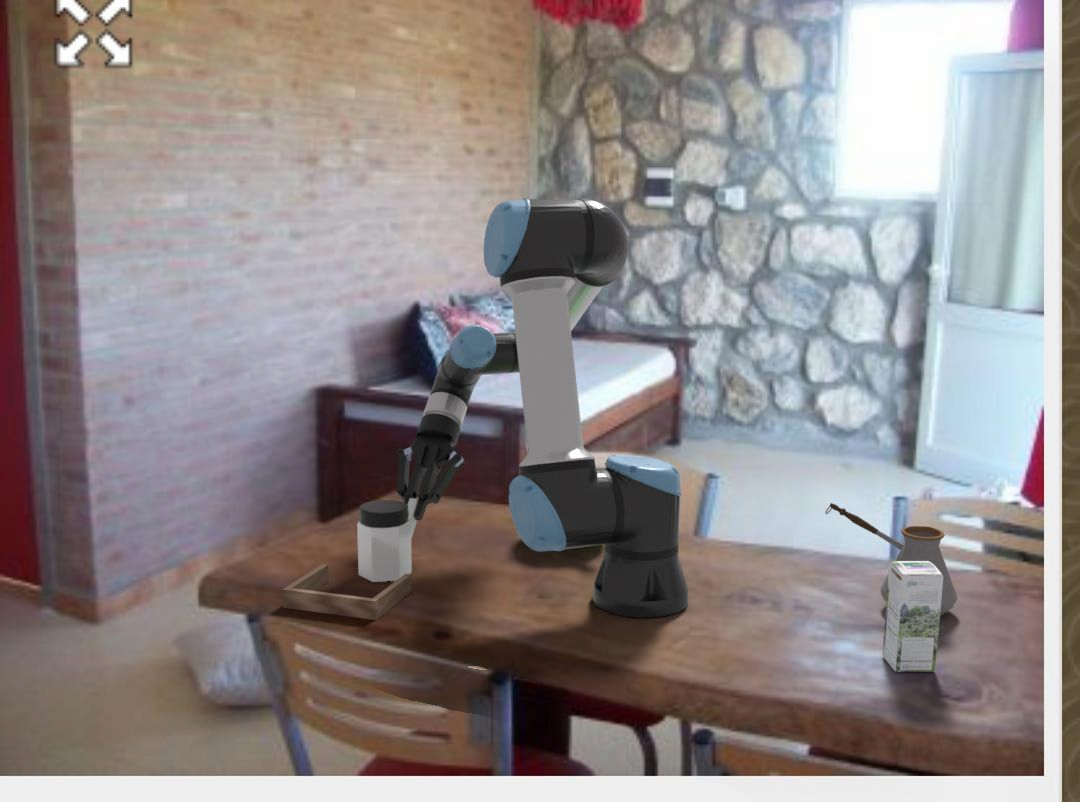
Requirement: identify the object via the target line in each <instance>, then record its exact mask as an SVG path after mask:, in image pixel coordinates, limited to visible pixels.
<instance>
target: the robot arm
mask: <svg viewBox="0 0 1080 802" xmlns="http://www.w3.org/2000/svg"><path fill="white" fill-rule="evenodd" d="M628 253H629V239H628V235H627V231H626V229H625V226H624V224H623V222H622V221H621V219H620V218H619V216H618V215H617V214H616V213H615V212H614V211H613V210H612V209H611V208H609V207H608V206H606V205H605V204H603V203H602V202H601V203H600V202H599V201H595V200H592V199H588V198H587V199H586V198H582V199H581V198H577V199H554V198H553V199H548V198H547V199H545V198H544V199H543V198H540V199H539V198H522V199H517V200H516V199H515V200H504V201H501V202H500V203H499V204H497V205H496V206H495V207H494V208H493V210H492V212H491V213H490V216H489V218H488V221H487V225H486V228H485V232H484V239H483V262H484V266H485V267H486V272H487V274H489V276H492V277H494V278H499V283H500V284H499V285H500V290H501V292H502V293H503V294H505V295H506V296H507V297H509V299H510V300H511V303H512V313H513V323H514V325H513V326H514V332H499V333H498V332H497V333H494V332H492V331H491V330H490V329H489V328H488V327H485V326H482V325H479V324H469V325H466V326H464V327H463V328H462V329H461V330H460V331H459V332H458V334H457V335H456V336H455V337H454V338H453V340H452V341H451V344H450V347H449V348H448V349H447V350H445V352H444V353H443V356H442V358H440V362H439V363H438V367H437V368H438V370H437V372H436V376H435V378H434V382H433V385H432V388H431V391H430V394H429V396H428V399H427V401H426V405H425V408H424V411H423V413H422V418H421V419H420V423H419V425H418V427H417V432H416V436H415V437H416V438H415V439H414V441H412V443H411V444H410V446H409V447H407V448H405V449H403V448H402V447H401V448H399V447H398V449H397V450H396V453H397V456H398V459H399V460H398V469H397V470H398V471H397V473H398V474H397V484H396V485H397V487H396V493H397V495H398V496H399V498H400V500H402V501H403V502H404V503H406V504H407V505H408V510H409V516H408V519H409V520H411V539H413V535H414V532H415V530H416V526H417V522H418V521H422V519H423V518H424V516H425V513H426V508H427V506H428V505H430V504H435V505H437V504H438V503H439V502H440V500H441V498H442V496H443V495H444V494H445V492H446V489H447V488H448V486H449V485H450V483H451V482H452V480H453V478H454V476H455V475H456V473H457V471H458V470H459V469H461V468H462V467H463V466H464V465H465V460H464V458H463V456H462V454H461V453H459V452H458V453H457V451H456V445H457V443H458V440H459V435H460V433H461V428H462V426H463V423H464V419H465V416H466V414H467V410H468V406H469V403H470V400H471V397H472V395H473V392H474V389H475V387H476V385H477V383H478V381H479V380H480V378H481V377H482V376H483V375H499V374H501V375H502V374H513V373H517V374H518V373H519V381H520V390H521V399H522V407H523V408H522V409H523V410H522V411H523V418H524V429H525V437H526V447H527V448H526V449H527V454H526V456H524V458H523V460H522V461H521V462H520V463H519V465H518V466H519V474H520V475H518V476H516V477H515V478H513V479H512V480H511V481H510V484H509V487H508V488H509V489H508V491H509V493H508V504H509V505H508V506H509V510H510V511H509V512H510V514H511V515H510V516H511V520H512V522H513V524H514V528H515V530H516V533H517V534H518V536H519V537H520V539H521V540H522V542H523V543H524V544H525V545H526V546H527V547H528V548H529V549H531V550H533V551H535V552H551V551H552V552H553V551H555V552H562V551H564V550H571V549H579V548H585V547H592V546H593V547H594V546H602V545H603V546H604V554H603V557H602V560H601V563H600V566H599V569H598V572H597V574H596V578H595V579H594V583H593V587H592V601H593V604H594V605H595V606H597V607H598V608H599V609H601V610H603V611H605V612H608V613H611V614H614V615H619V616H623V617H628V618H629V617H632V618H659V617H661V618H662V617H667V616H670V615H674V614H678V613H680V612H681V611H683V610H684V609H686V608H687V607H688V605H689V588H688V587H689V586H688V585H687V580H686V577H685V573H684V571H683V567H682V565H681V561H680V557H679V545H680V543H679V539H680V510H681V509H680V508H681V503H680V502H681V496H682V490H681V489H682V488H681V477H680V473H679V472H680V471H679V470H678V469H677V468H676V466H674V465H673V464H672V463H670V462H667V461H663V460H661V459H656V458H652V457H648V456H643V455H641V456H640V455H634V454H633V455H631V454H613V455H610V456H608V457H607V458H606V461H605V462H604V466H605V468H599V469H597V468H596V461H595V460H596V459H595V456H594V455H592V453H590V452H589V451H588V450H586V448H585V447H584V440H583V439H584V438H583V432H582V423H581V412H580V411H581V410H580V403H579V395H578V394H579V393H578V386H577V385H578V384H577V375H576V366H575V358H574V347H573V340H572V339H573V338H572V331H573V329H574V328H575V327H576V325H577V324H578V322H579V321H581V320H580V319H581V318H582V316H583V315H584V314H585V312H586V311H587V310H588V308H589V307H590V305H591V304H592V303H593V301H594V300H595V298H596V297H597V295H598V294H599V293H600V291H601V290H602V288H604V287H608V286H609V285H611V284H612V283H613V282H615V280H616V279H617V277H618V276H619V275H620V273H621V272H622V270H623V269H624V267H625V264H626V261H627V258H628V255H629V254H628ZM412 455H413V457H414V459H415V460H414V467H413V469H412V473H411V475H410V468H411V467H410V462H411V460H412ZM445 463H446V464H445ZM443 465H445V466H444V467H443V469H442V466H443ZM438 475H439V476H438ZM409 477H410V478H409Z"/></svg>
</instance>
